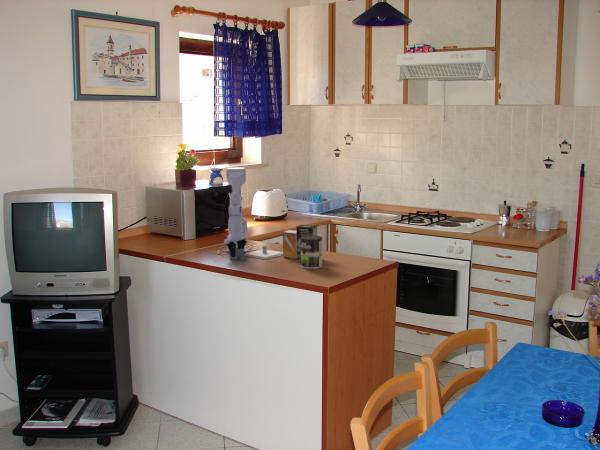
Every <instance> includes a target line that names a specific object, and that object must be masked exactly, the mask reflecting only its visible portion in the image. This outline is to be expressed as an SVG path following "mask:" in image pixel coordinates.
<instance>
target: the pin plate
mask: <svg viewBox="0 0 600 450" xmlns="http://www.w3.org/2000/svg"><path fill="white" fill-rule="evenodd" d="M244 255H245V256H246V257H249V258H254V259H261V260H270V259H273V258H278V257H281V256H283V251H276V250H271V249H268V247H267V246H266V245H263V246H262V247H261V249H260V250H256V251H251V252H248V253H244Z"/></svg>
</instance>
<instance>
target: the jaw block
mask: <svg viewBox="0 0 600 450" xmlns="http://www.w3.org/2000/svg"><path fill="white" fill-rule="evenodd" d="M229 259H230V260H232V261H233V260H234V261H246V260H247V256H245V252H244V249H242V248H235V257H232V256H231V254H230V253H229Z"/></svg>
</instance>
